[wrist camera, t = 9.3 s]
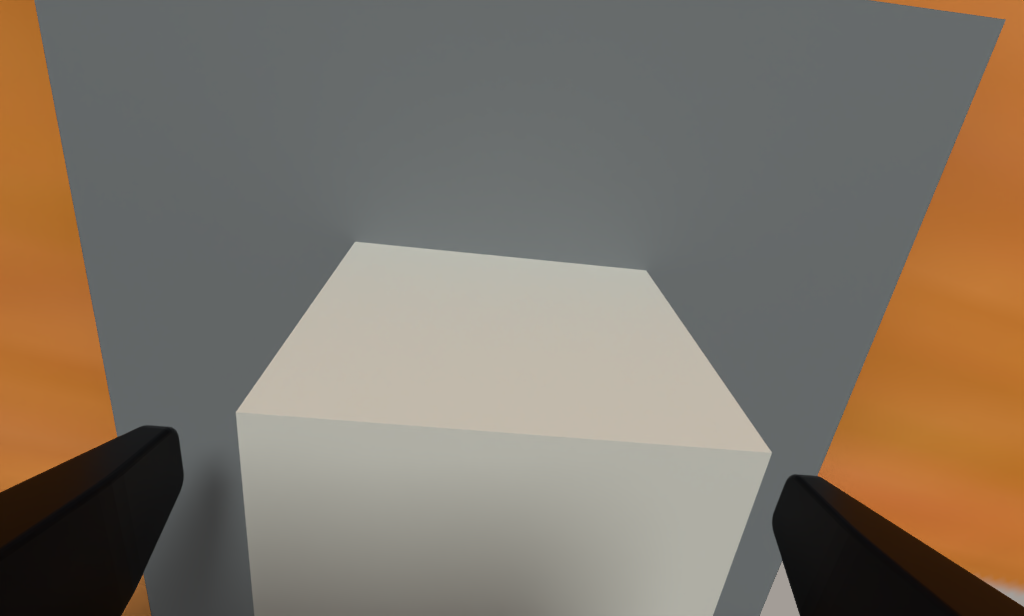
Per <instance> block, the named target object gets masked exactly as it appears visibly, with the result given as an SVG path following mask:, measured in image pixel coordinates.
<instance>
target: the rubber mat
mask: <svg viewBox="0 0 1024 616" xmlns="http://www.w3.org/2000/svg"><path fill="white" fill-rule="evenodd" d="M35 5H36V10H37V16H38V21H39V26H40V32H41V37H42V42H43V47H44V53H45V58H46V63H47V68H48V74H49V79H50V84H51V89H52V95H53V100H54V105H55V110H56V116H57V121H58V126H59V131H60V137H61V142H62V147H63V152H64V158H65V163H66V168H67V173H68V179H69V184H70V189H71V195H72V200H73V205H74V210H75V216H76V221H77V226H78V231H79V237H80V242H81V247H82V252H83V258H84V263H85V268H86V273H87V279H88V284H89V289H90V294H91V300H92V305H93V310H94V315H95V321H96V326H97V331H98V336H99V342H100V347H101V352H102V358H103V363H104V368H105V373H106V379H107V384H108V389H109V394H110V400H111V405H112V410H113V415H114V421H115V426H116V431H117V436H118V437H119V436H121V435H123V434H125V433H128V432H130V431H132V430H134V429H136V428H138V427H140V426H144V425H154V426H167V427H172V428H174V429H175V430H176V431H177V433H178V435H179V441H180V448H181V455H182V462H183V470H184V481H183V486H182V489H181V492H180V494H179V496H178V498H177V500H176V503H175V505H174V507H173V509H172V511H171V514H170V516H169V518H168V520H167V522H166V525H165V527H164V529H163V531H162V533H161V536H160V538H159V540H158V542H157V544H156V547H155V549H154V551H153V553H152V555H151V558H150V560H149V562H148V564H147V566H146V568H145V571H144V578H145V584H146V589H147V594H148V599H149V605H150V610H151V615H152V616H254V607H253V596H252V585H251V574H250V563H249V552H248V541H247V530H246V519H245V508H244V497H243V486H242V475H241V465H240V454H239V443H238V432H237V421H236V411H237V410H238V408H239V407H240V405H241V404H242V403H243V401H244V400H245V398H246V397H247V395H248V394H249V393H250V391H251V390H252V388H253V387H254V385H255V384H256V383H257V381H258V380H259V378H260V377H261V375H262V374H263V373H264V371H265V370H266V368H267V367H268V365H269V364H270V363H271V361H272V360H273V358H274V357H275V355H276V354H277V353H278V351H279V350H280V348H281V347H282V345H283V344H284V343H285V341H286V340H287V338H288V337H289V335H290V334H291V333H292V331H293V330H294V328H295V327H296V325H297V324H298V323H299V321H300V320H301V318H302V317H303V315H304V314H305V313H306V311H307V310H308V308H309V307H310V305H311V304H312V303H313V301H314V300H315V298H316V297H317V295H318V294H319V293H320V291H321V290H322V288H323V287H324V285H325V284H326V283H327V281H328V280H329V278H330V277H331V275H332V274H333V272H334V271H335V270H336V268H337V267H338V265H339V264H340V262H341V261H342V260H343V258H344V257H345V255H346V254H347V252H348V251H349V250H350V248H351V247H352V245H353V244H354V242H363V243H374V244H384V245H394V246H404V247H414V248H424V249H434V250H444V251H455V252H465V253H475V254H485V255H495V256H505V257H515V258H526V259H536V260H546V261H556V262H566V263H576V264H586V265H596V266H607V267H617V268H627V269H637V270H646V271H647V272H648V274H649V275H650V277H651V278H652V280H653V281H654V282H655V284H656V285H657V287H658V288H659V290H660V291H661V293H662V294H663V295H664V297H665V298H666V300H667V301H668V303H669V304H670V306H671V307H672V309H673V310H674V311H675V313H676V314H677V316H678V317H679V319H680V320H681V322H682V323H683V324H684V326H685V327H686V329H687V330H688V332H689V333H690V335H691V336H692V338H693V339H694V340H695V342H696V343H697V345H698V346H699V348H700V349H701V351H702V352H703V353H704V355H705V356H706V358H707V359H708V361H709V362H710V364H711V365H712V367H713V368H714V369H715V371H716V372H717V374H718V375H719V377H720V378H721V380H722V381H723V383H724V384H725V385H726V387H727V388H728V390H729V391H730V393H731V394H732V396H733V397H734V398H735V400H736V401H737V403H738V404H739V406H740V407H741V409H742V410H743V412H744V413H745V414H746V416H747V417H748V419H749V420H750V422H751V423H752V425H753V426H754V427H755V429H756V430H757V432H758V433H759V435H760V436H761V438H762V439H763V441H764V442H765V443H766V445H767V446H768V448H769V449H770V451H771V452H772V454H771V457H770V460H769V463H768V465H767V468H766V471H765V474H764V476H763V479H762V482H761V485H760V487H759V490H758V493H757V496H756V498H755V501H754V504H753V507H752V509H751V512H750V515H749V518H748V520H747V523H746V526H745V529H744V531H743V534H742V537H741V540H740V542H739V545H738V548H737V551H736V553H735V556H734V559H733V562H732V564H731V567H730V570H729V573H728V575H727V578H726V581H725V584H724V586H723V589H722V592H721V595H720V597H719V600H718V603H717V606H716V608H715V611H714V614H713V616H760V613H761V611H762V608H763V606H764V604H765V601H766V599H767V596H768V594H769V591H770V589H771V587H772V584H773V582H774V579H775V577H776V575H777V572H778V570H779V567H780V565H781V562H782V558H781V555H780V552H779V549H778V545H777V542H776V539H775V536H774V533H773V528H772V517H773V513H774V510H775V507H776V505H777V502H778V500H779V497H780V495H781V492H782V489H783V487H784V484H785V482H786V480H787V478H788V477H789V476H791V475H794V474H801V475H814V476H817V475H818V473H819V470H820V468H821V466H822V463H823V461H824V458H825V456H826V453H827V451H828V449H829V446H830V444H831V441H832V439H833V436H834V434H835V432H836V429H837V427H838V424H839V422H840V420H841V417H842V415H843V412H844V410H845V407H846V405H847V403H848V400H849V398H850V395H851V393H852V390H853V388H854V386H855V383H856V381H857V378H858V376H859V373H860V371H861V369H862V366H863V364H864V361H865V359H866V357H867V354H868V352H869V349H870V347H871V344H872V342H873V340H874V337H875V335H876V332H877V330H878V327H879V325H880V323H881V320H882V318H883V315H884V313H885V311H886V308H887V306H888V303H889V301H890V298H891V296H892V294H893V291H894V289H895V286H896V284H897V281H898V279H899V277H900V274H901V272H902V269H903V267H904V264H905V262H906V260H907V257H908V255H909V252H910V250H911V248H912V245H913V243H914V240H915V238H916V235H917V233H918V231H919V228H920V226H921V223H922V221H923V218H924V216H925V214H926V211H927V209H928V206H929V204H930V202H931V199H932V197H933V194H934V192H935V189H936V187H937V185H938V182H939V180H940V177H941V175H942V172H943V170H944V168H945V165H946V163H947V160H948V158H949V155H950V153H951V151H952V148H953V146H954V143H955V141H956V139H957V136H958V134H959V131H960V129H961V126H962V124H963V122H964V119H965V117H966V114H967V112H968V109H969V107H970V105H971V102H972V100H973V97H974V95H975V93H976V90H977V88H978V85H979V83H980V80H981V78H982V76H983V73H984V71H985V68H986V66H987V63H988V61H989V59H990V56H991V54H992V51H993V49H994V46H995V44H996V42H997V39H998V37H999V34H1000V32H1001V30H1002V27H1003V25H1004V22H1005V19H998V18H991V17H984V16H976V15H969V14H962V13H955V12H948V11H941V10H934V9H927V8H920V7H913V6H906V5H899V4H891V3H884V2H877V1H870V0H35Z"/></svg>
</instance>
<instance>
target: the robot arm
mask: <svg viewBox="0 0 1024 616" xmlns="http://www.w3.org/2000/svg"><path fill="white" fill-rule="evenodd" d="M183 481H184V470H183V462H182V455H181V448H180V441H179V435H178V433H177V431H176V430H175V429H174V428H172V427H167V426H154V425H144V426H140V427H138V428H136V429H134V430H132V431H130V432H128V433H125V434H123V435H121V436H119V437H117V438H115V439H113V440H111V441H108V442H106V443H104V444H102V445H100V446H98V447H96V448H94V449H92V450H89V451H87V452H85V453H83V454H81V455H79V456H77V457H75V458H72V459H70V460H68V461H66V462H64V463H62V464H60V465H58V466H56V467H53V468H51V469H49V470H47V471H45V472H43V473H41V474H39V475H36V476H34V477H32V478H30V479H28V480H26V481H24V482H22V483H19V484H17V485H15V486H13V487H11V488H9V489H7V490H5V491H3V492H0V616H121V615H122V613H123V611H124V610H125V608H126V606H127V604H128V602H129V601H130V599H131V597H132V595H133V593H134V591H135V589H136V587H137V585H138V583H139V581H140V579H141V577H142V575H143V573H144V571H145V568H146V566H147V564H148V562H149V560H150V558H151V555H152V553H153V551H154V549H155V547H156V544H157V542H158V540H159V538H160V536H161V533H162V531H163V529H164V527H165V525H166V522H167V520H168V518H169V516H170V514H171V511H172V509H173V507H174V505H175V503H176V500H177V498H178V496H179V494H180V492H181V489H182V486H183ZM772 528H773V533H774V536H775V539H776V542H777V545H778V549H779V552H780V555H781V558H782V561H783V564H784V567H785V570H786V573H787V576H788V579H789V583H790V586H791V589H792V592H793V595H794V598H795V601H796V604H797V608H798V611H799V614H800V616H1024V607H1023V606H1021V605H1020V604H1018V603H1017V602H1015V601H1014V600H1012V599H1011V598H1009V597H1007V596H1006V595H1004V594H1003V593H1001V592H1000V591H998V590H996V589H995V588H993V587H992V586H990V585H989V584H987V583H985V582H984V581H982V580H981V579H979V578H978V577H976V576H975V575H973V574H971V573H970V572H968V571H967V570H965V569H964V568H962V567H960V566H959V565H957V564H956V563H954V562H953V561H951V560H949V559H948V558H946V557H945V556H943V555H942V554H940V553H939V552H937V551H935V550H934V549H932V548H931V547H929V546H928V545H926V544H924V543H923V542H921V541H920V540H918V539H917V538H915V537H913V536H912V535H910V534H909V533H907V532H906V531H904V530H903V529H901V528H899V527H898V526H896V525H895V524H893V523H892V522H890V521H888V520H887V519H885V518H884V517H882V516H881V515H879V514H878V513H876V512H874V511H873V510H871V509H870V508H868V507H867V506H865V505H863V504H862V503H860V502H859V501H857V500H856V499H854V498H852V497H851V496H849V495H848V494H846V493H845V492H843V491H842V490H840V489H838V488H837V487H835V486H834V485H832V484H831V483H829V482H827V481H826V480H824V479H823V478H821V477H818V476H814V475H801V474H794V475H791V476H789V477H788V478H787V480H786V482H785V484H784V487H783V489H782V492H781V495H780V497H779V500H778V502H777V505H776V507H775V510H774V513H773V517H772Z"/></svg>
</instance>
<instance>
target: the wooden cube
mask: <svg viewBox="0 0 1024 616" xmlns="http://www.w3.org/2000/svg"><path fill="white" fill-rule="evenodd" d="M236 421H237V432H238V443H239V454H240V465H241V475H242V486H243V497H244V508H245V519H246V530H247V541H248V552H249V563H250V574H251V585H252V596H253V607H254V616H713V614H714V611H715V608H716V606H717V603H718V600H719V597H720V595H721V592H722V589H723V586H724V584H725V581H726V578H727V575H728V573H729V570H730V567H731V564H732V562H733V559H734V556H735V553H736V551H737V548H738V545H739V542H740V540H741V537H742V534H743V531H744V529H745V526H746V523H747V520H748V518H749V515H750V512H751V509H752V507H753V504H754V501H755V498H756V496H757V493H758V490H759V487H760V485H761V482H762V479H763V476H764V474H765V471H766V468H767V465H768V463H769V460H770V457H771V454H772V452H771V451H770V449H769V448H768V446H767V445H766V443H765V442H764V441H763V439H762V438H761V436H760V435H759V433H758V432H757V430H756V429H755V427H754V426H753V425H752V423H751V422H750V420H749V419H748V417H747V416H746V414H745V413H744V412H743V410H742V409H741V407H740V406H739V404H738V403H737V401H736V400H735V398H734V397H733V396H732V394H731V393H730V391H729V390H728V388H727V387H726V385H725V384H724V383H723V381H722V380H721V378H720V377H719V375H718V374H717V372H716V371H715V369H714V368H713V367H712V365H711V364H710V362H709V361H708V359H707V358H706V356H705V355H704V353H703V352H702V351H701V349H700V348H699V346H698V345H697V343H696V342H695V340H694V339H693V338H692V336H691V335H690V333H689V332H688V330H687V329H686V327H685V326H684V324H683V323H682V322H681V320H680V319H679V317H678V316H677V314H676V313H675V311H674V310H673V309H672V307H671V306H670V304H669V303H668V301H667V300H666V298H665V297H664V295H663V294H662V293H661V291H660V290H659V288H658V287H657V285H656V284H655V282H654V281H653V280H652V278H651V277H650V275H649V274H648V272H647V271H646V270H637V269H627V268H617V267H607V266H596V265H586V264H576V263H566V262H556V261H546V260H536V259H526V258H515V257H505V256H495V255H485V254H475V253H465V252H455V251H444V250H434V249H424V248H414V247H404V246H394V245H384V244H374V243H363V242H354V244H353V245H352V247H351V248H350V250H349V251H348V252H347V254H346V255H345V257H344V258H343V260H342V261H341V262H340V264H339V265H338V267H337V268H336V270H335V271H334V272H333V274H332V275H331V277H330V278H329V280H328V281H327V283H326V284H325V285H324V287H323V288H322V290H321V291H320V293H319V294H318V295H317V297H316V298H315V300H314V301H313V303H312V304H311V305H310V307H309V308H308V310H307V311H306V313H305V314H304V315H303V317H302V318H301V320H300V321H299V323H298V324H297V325H296V327H295V328H294V330H293V331H292V333H291V334H290V335H289V337H288V338H287V340H286V341H285V343H284V344H283V345H282V347H281V348H280V350H279V351H278V353H277V354H276V355H275V357H274V358H273V360H272V361H271V363H270V364H269V365H268V367H267V368H266V370H265V371H264V373H263V374H262V375H261V377H260V378H259V380H258V381H257V383H256V384H255V385H254V387H253V388H252V390H251V391H250V393H249V394H248V395H247V397H246V398H245V400H244V401H243V403H242V404H241V405H240V407H239V408H238V410H237V411H236Z"/></svg>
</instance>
